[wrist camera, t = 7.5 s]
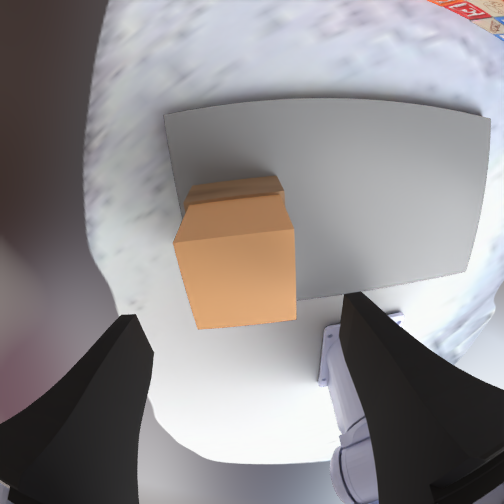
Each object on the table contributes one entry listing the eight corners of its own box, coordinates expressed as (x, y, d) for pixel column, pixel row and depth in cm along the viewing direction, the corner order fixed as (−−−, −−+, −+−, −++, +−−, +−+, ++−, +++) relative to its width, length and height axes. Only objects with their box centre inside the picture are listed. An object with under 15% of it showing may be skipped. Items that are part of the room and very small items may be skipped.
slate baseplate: (460, 265, 22) (465, 271, 21) (205, 301, 22) (204, 310, 21) (482, 116, 15) (490, 118, 14) (167, 114, 15) (163, 115, 14)
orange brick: (284, 271, 16) (296, 319, 13) (205, 279, 16) (197, 329, 13) (279, 194, 14) (294, 229, 10) (189, 205, 14) (172, 243, 10)
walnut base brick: (281, 249, 19) (288, 275, 16) (206, 257, 19) (201, 284, 16) (276, 175, 16) (284, 190, 14) (192, 185, 16) (183, 202, 14)
